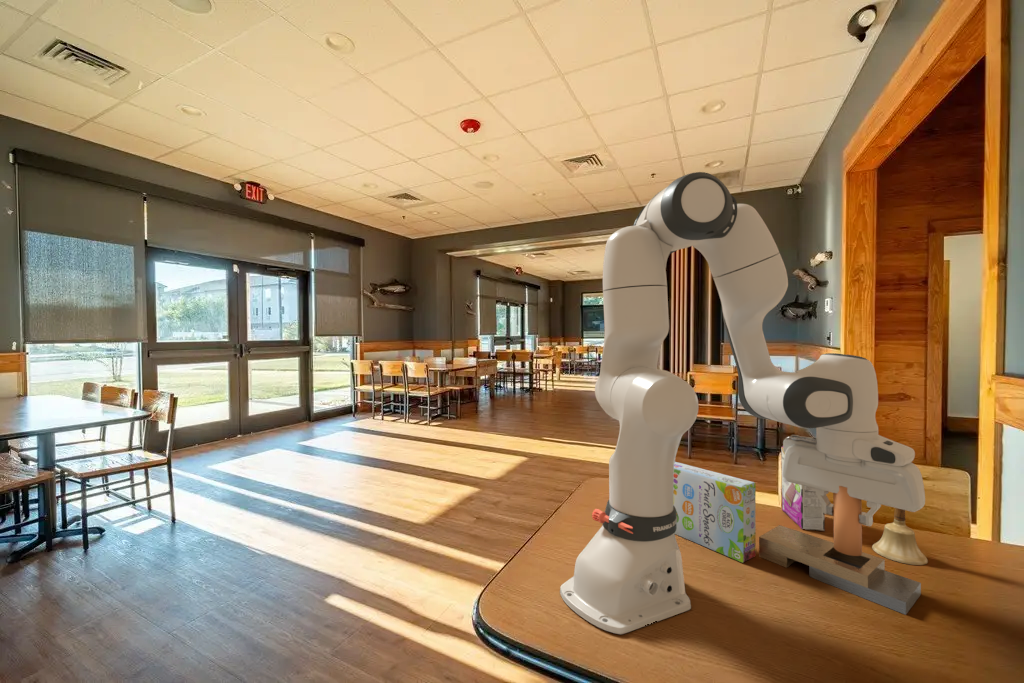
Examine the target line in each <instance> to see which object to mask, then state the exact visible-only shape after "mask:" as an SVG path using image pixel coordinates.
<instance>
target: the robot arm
mask: <svg viewBox="0 0 1024 683" xmlns="http://www.w3.org/2000/svg"><path fill="white" fill-rule="evenodd" d="M690 247H692V248H694V249H696V250H697V251H699V253H701V255H702V256H703V257H704V260H706V262H707V264H708V268H709V270H710V273H711V276H712V279H713V281H714V284H715V287H716V290H717V293H718V296H719V299H720V304H721V309H722V310H721V311H722V319H723V323H724V328H725V331H726V335H727V339H728V342H729V346H730V349H731V352H732V356H733V359H734V362H735V366H736V370H737V377H738V378H737V379H738V380H737V382H738V383H737V389H738V390H737V392H738V393H737V394H738V399H739V402H740V404H741V406H742V408H744V410H745V411H746V412H747V413H748V414H750V415H751V416H752V417H755V418H757V419H758V418H759V419H762V420H763V419H764V420H770V421H776V422H778V423H781V424H784V425H790V426H794V427H797V428H800V429H801V428H802V429H815V430H816V437H810V436H800V435H798V434H791V435H790V436H786V437H785V438H783V442H782V444H783V445H782V447H783V450H784V453H785V456H784V462H783V477H784V478H785V480H786V481H787V482H791V483H795V484H799V485H803V486H808V487H812V488H816V495H817V497H818V498H819V500H820V502H821V503H822V504H823V513H824V515H827V516H831V517H834V511H833V503H832V502H831V500H830V499H829V498H828V496H827V494H829V493H832V494H833V493H838V492H839V486H842V487H846V488H847V493H848V494H849V496H850V497H853V498H857V499H861V501H866V506H867V508H870V509H869V510H868V511H867V512H865V511H862V512H861V513H860V514H859V519H860V520H859V523H860V524H862V526H863V525H864V526H867V527H872V525H873V523H874V520H873V517H874V514H876V512H878V510H879V509H880V508H881V507H882V505H883V506H886V507H890V508H894V509H895V508H898V509H902V510H905V511H908V512H911V513H916V512H917V511H920V510H921V509H923V507H925V504H926V492H925V485H924V479H923V476H922V473H921V470H920V469H919V466H917V465H916V464H915V463H913V461H914V459H915V456H916V452H915V450H914V448H912V447H910V446H908V445H905V444H903V443H900V442H897V441H894V440H892V439H889V438H887V437H885V436H882V435H880V434H879V425H878V423H877V418H876V414H877V413H876V412H877V409H878V406H879V389H878V388H879V386H878V379H877V373H876V370H875V367H874V365H873V363H872V362H871V361H870V360H869V359H868V358H866V357H862V356H860V355H859V356H858V355H854V354H853V355H852V354H844V353H835V352H834V353H833V352H831V353H830V352H829V353H824V354H821V355H820V356H819V358H818V359H817V360H816V361H814V362H813V363H811V364H809V365H808V366H806V367H803V368H802V369H801V368H800V369H797V370H795V372H794V371H792V372H791V371H783V370H781V369H778V367H776V366H775V365H774V363H773V362H772V359H771V356H770V352H769V348H768V344H767V342H766V338H765V335H764V330H763V323H764V320H765V317H766V316H767V314H768V313H769V312H771V310H773V309H774V308H776V307H777V305H778V304H779V303H780V302H781V301H782V300H783V298H784V296H785V295H786V292H787V290H788V287H789V280H788V279H789V278H788V273H787V269H786V266H785V263H784V259H783V258H782V255H781V253H780V251H779V247H778V245H777V244H776V242H775V239H774V237H773V235H772V233H771V232H770V230H769V228H768V226H767V224H766V223H765V221H764V220H763V218H762V217H761V215H760V214H759V212H758V211H757V210H756V208H754V206H752V205H750V204H747V203H737V200H736V198H735V197H734V196H733V195H732V194H731V192H730V190H729V189H728V187H727V186H726V185H725V184H724V182H722V180H720V179H719V178H718V177H717V176H715V175H714V174H711V173H708V172H706V171H705V172H704V171H697V172H696V171H695V172H691V173H688V174H684V175H682V176H680V177H678V178H676V179H674V181H672V182H671V183H670V184H669V185H668V186H666V187H665V188H663V189H662V190H660V191H659V192H657V193H656V194H655V195H654V196H653V197H652V198H651V199H650V200H649V201H648V203H647V204H646V205H645V206H643V208H642V209H641V210H640V211H639V213H638V215H637V217H636V219H635V220H634V223H633V225H630V226H628V225H627V226H625V227H622V228H619V229H618V230H616V231H614V232H613V233H612V234H610V236H608V238H607V240H606V244H605V247H604V254H603V263H602V297H603V298H602V300H603V302H602V303H603V320H604V321H603V322H604V325H603V326H604V334H603V335H604V338H603V348H602V356H601V362H600V369H599V376H598V377H597V379H596V381H595V384H594V385H595V386H594V395H595V399H596V401H597V402H598V404H599V406H600V407H601V409H602V410H603V411H604V412H605V414H606V415H608V416H609V417H610V418H612V419H614V420H617V421H618V423H619V431H618V432H619V433H618V437H617V441H616V446H615V449H614V452H613V453H612V455H610V458H609V462H608V476H609V477H608V479H609V480H608V488H609V489H608V490H609V493H608V494H609V499H608V500H607V501H606V505H605V510H604V511H603V510H601V509H599V508H594V509H593V510H592V513H591V514H592V515H591V517H592V518H591V519H593V520H594V521H595V522H599V523H600V524H601V526H600V528H599V529H598V530H597V532H596V533H595V534H594V535H593V537H592V538H591V539H590V541H589V542H588V543H587V544H586V545H585V547H584V548H583V550H581V552H580V553H579V554H578V556H577V557H576V559H575V564H574V571H573V576H571V577H570V578H569V579H568V580H566V581H565V582H564V583H563V582H562V584H561V585H560V587H559V589H560V590H559V593H560V596H561V599H562V600H563V601H564V603H565V604H566V605H567V606H568V607H569V608H570V609H571V610H572V611H573V612H575V614H577V615H578V616H580V617H581V618H582V619H584V620H586V621H587V622H589V624H592V625H594V626H595V627H597V628H599V629H601V630H604V631H606V632H609V633H613V634H617V635H624V634H627V633H630V632H632V631H635V630H638V629H641V628H643V627H646V626H648V625H647V624H649V625H651V623H652V624H654V623H653V622H655V621H657V622H660V621H662V620H665V619H669V618H671V617H673V616H675V615H676V616H677V615H678V614H682V613H684V612H688V611H690V610H691V609H692V605H691V599H690V597H689V596H688V595H687V593H686V587H685V577H684V570H683V569H684V568H683V559H682V558H683V557H682V553H681V552H682V551H681V550H680V547H679V545H678V542H677V539H676V534H675V531H676V529H677V527H676V523H677V516H676V508H675V507H674V505H673V486H674V463H675V462H676V458H677V457H676V456H677V453H678V448H679V446H680V443H681V440H682V437H683V435H684V434H685V433H686V432H687V431H689V429H691V427H693V424H695V422H696V420H697V417H698V415H699V399H698V395H697V393H696V391H695V388H693V387H692V385H690V383H689V382H688V381H686V380H684V379H682V378H681V377H679V376H678V375H676V374H675V373H672V372H671V371H668V370H665V369H660V368H659V369H658V363H659V362H658V361H659V356H660V351H661V347H662V345H663V342H664V341H665V339H666V338H667V336H668V334H669V330H670V319H669V318H670V317H669V316H670V315H669V301H668V299H669V298H668V297H669V296H668V280H667V271H666V270H667V262H668V258H669V256H670V255H671V254H673V253H675V252H677V251H678V250H683V249H687V248H690ZM655 623H656V622H655ZM645 625H646V626H645Z"/></svg>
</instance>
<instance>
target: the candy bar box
mask: <svg viewBox="0 0 1024 683" xmlns="http://www.w3.org/2000/svg"><path fill="white" fill-rule="evenodd" d="M780 451H781V453H780V455H781V456H780V457H781V461H780V462H781V464H780V465H781V510H782V511H783V512H784V513H785V514H786V515H787V516H788V517H789V518H790V519H791V520H792V521H793V522H794V523H795V524H796V525H798V527H799V528H800V529H801V530H803V529H805V530H806V531H815V530H816V531H818V532H825V531H826V530H825V529H826V528H825V526H826V525H825V524H826V523H825V518H826V517H825V514H824V513H823V504H822V503H821V502H820V500H819V498H818V497H817V495H816V488H812V487H808V486H803V485H799V484H795V483H791V482H787V481H786V480H785V478H784V477H783V462H784V456H785V453H784V450H783V446H781V448H780ZM805 530H804V531H805Z"/></svg>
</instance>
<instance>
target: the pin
mask: <svg viewBox="0 0 1024 683" xmlns="http://www.w3.org/2000/svg"><path fill="white" fill-rule="evenodd" d="M832 495H833V496H832V498H833V502H832V504H833V511H834V516H833V543H834V549H835V550H837V551H838V552H841V553H843V554H846V555H851V556H860V555H862V552H863V529H862V528H863V527H862V526H863V524H860V523H859V520H860V519H859V514H860V513H861V512H863V511H862V509H863V508H862V500H861V499H857V498H853V497H850V496H849V494H848V493H847V488H846V487H842V486H839V492H838V493H832Z"/></svg>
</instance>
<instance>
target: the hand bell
mask: <svg viewBox="0 0 1024 683" xmlns="http://www.w3.org/2000/svg"><path fill="white" fill-rule="evenodd" d="M893 518H894V519H893V522H890V523H886V524H884V528H883V533H882V536H881V538H880V539H879V540H878V541H877V542H874V543H873V544H872V546H871V549H872V550H873V551H874V552H875V553H876V554H878V555H879V556H882V557H884V558H886V559H887V560H891V561H894V562H896V563H897V562H898V563H902V564H905V565H912V566H923V565H927V564H928V563H929V560H928V558H927V556H926V555H925V554H924V553H923V552H922V551H921V549H920V548H919V545H918V544H917V540H916V536H915V531H914V530H913V529H912V528H911V527H909V526H907V525H906V510H902V509H898V508H894V514H893Z"/></svg>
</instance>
